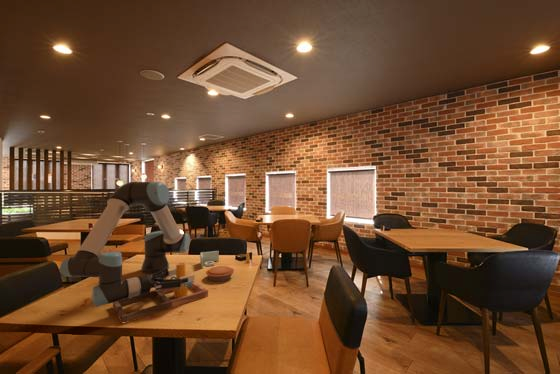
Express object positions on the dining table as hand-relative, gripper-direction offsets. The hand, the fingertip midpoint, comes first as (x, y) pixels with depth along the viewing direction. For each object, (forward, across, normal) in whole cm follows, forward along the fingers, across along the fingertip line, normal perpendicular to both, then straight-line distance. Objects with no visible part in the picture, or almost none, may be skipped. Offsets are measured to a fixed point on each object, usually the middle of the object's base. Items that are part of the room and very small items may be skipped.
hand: (188, 273), depth 119 cm
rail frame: (-12, 0, -10) cm, 15 cm away
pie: (+22, -8, -10) cm, 25 cm away
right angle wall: (+29, -33, -10) cm, 45 cm away
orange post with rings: (-3, 0, -10) cm, 10 cm away
